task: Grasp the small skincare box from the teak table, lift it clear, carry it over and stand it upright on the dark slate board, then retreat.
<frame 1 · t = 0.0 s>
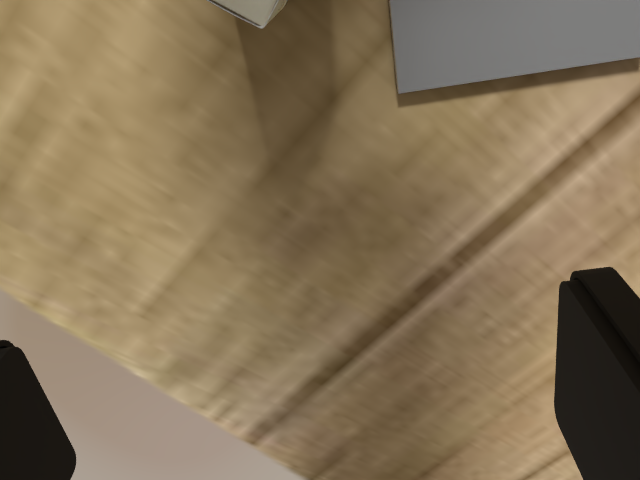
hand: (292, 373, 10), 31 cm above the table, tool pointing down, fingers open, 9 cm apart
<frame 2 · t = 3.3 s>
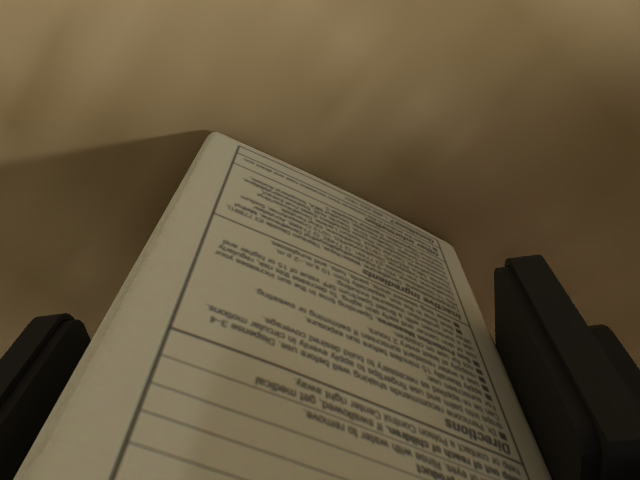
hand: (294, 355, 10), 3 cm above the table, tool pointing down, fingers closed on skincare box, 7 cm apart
skincare box: (304, 259, 13), on the table, touching gripper
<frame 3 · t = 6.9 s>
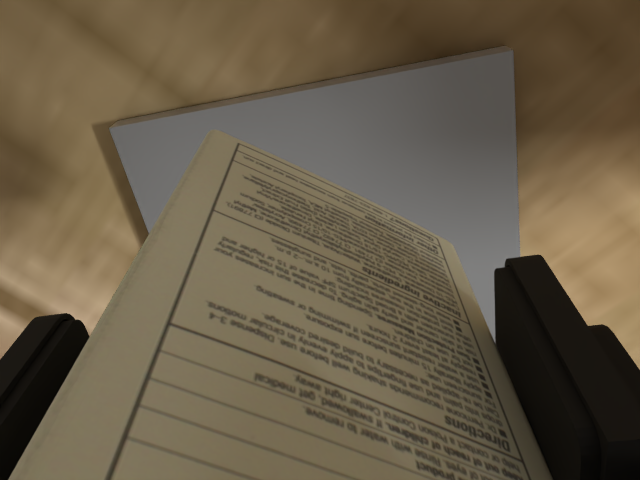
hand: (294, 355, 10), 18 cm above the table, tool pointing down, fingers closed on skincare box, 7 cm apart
slate board: (335, 237, 29), on the table
skincare box: (304, 257, 13), point 14 cm above the table, touching gripper
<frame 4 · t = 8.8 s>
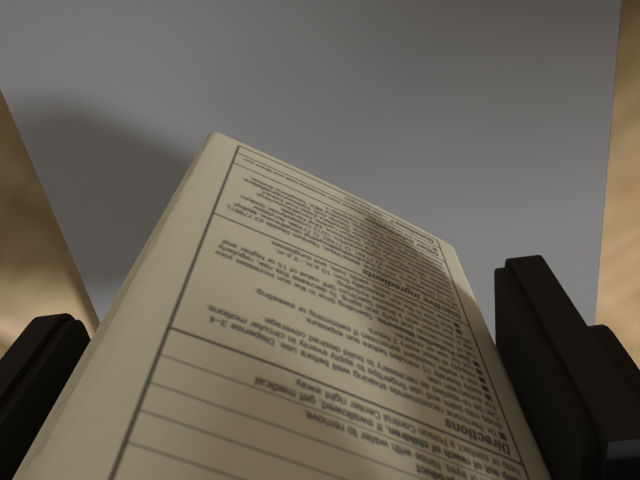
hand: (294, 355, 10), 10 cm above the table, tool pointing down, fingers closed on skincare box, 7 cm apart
slate board: (320, 175, 19), on the table
skincare box: (304, 259, 13), point 6 cm above the table, touching gripper
when the fingers open (5 cm above the table, at t = 10.6 s): skincare box stays where it is, resting on slate board.
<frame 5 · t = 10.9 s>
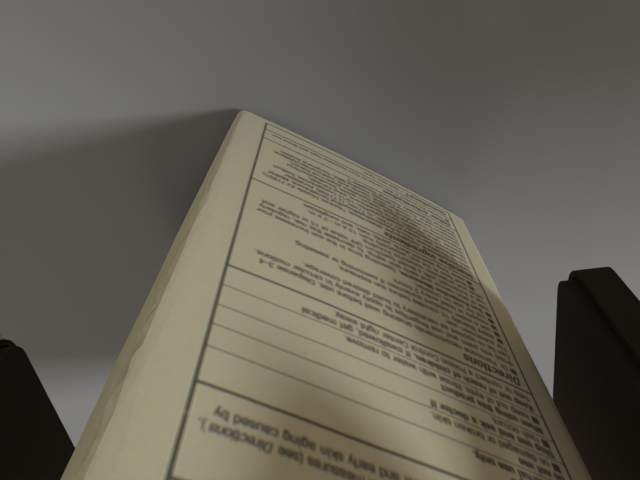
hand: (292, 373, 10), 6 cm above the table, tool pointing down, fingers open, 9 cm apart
slate board: (310, 236, 15), on the table
skincare box: (323, 232, 14), point 1 cm above the table, touching slate board
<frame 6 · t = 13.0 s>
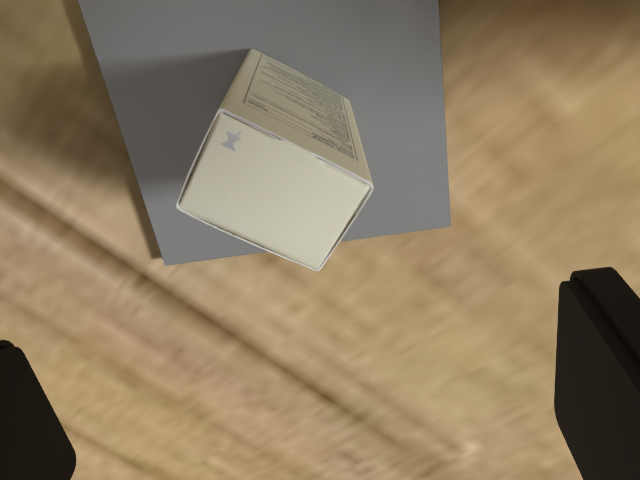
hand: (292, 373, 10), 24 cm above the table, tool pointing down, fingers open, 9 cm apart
slate board: (282, 115, 32), on the table
skincare box: (287, 108, 31), point 1 cm above the table, touching slate board
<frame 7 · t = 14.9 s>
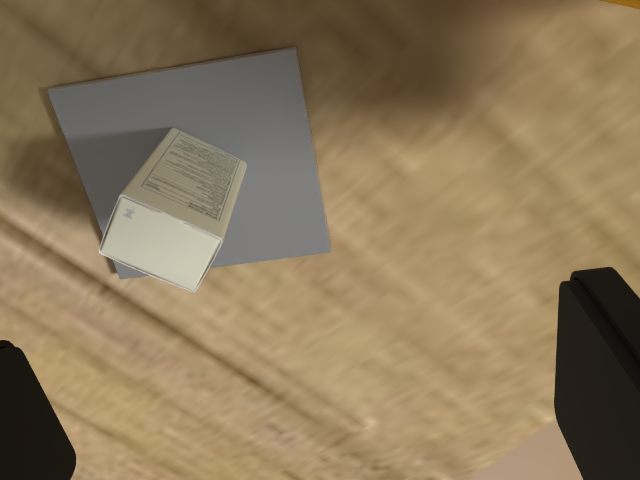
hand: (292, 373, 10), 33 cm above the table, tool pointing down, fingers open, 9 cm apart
slate board: (201, 171, 44), on the table
skincare box: (202, 167, 42), point 1 cm above the table, touching slate board
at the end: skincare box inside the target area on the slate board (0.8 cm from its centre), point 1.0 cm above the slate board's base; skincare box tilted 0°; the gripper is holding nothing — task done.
